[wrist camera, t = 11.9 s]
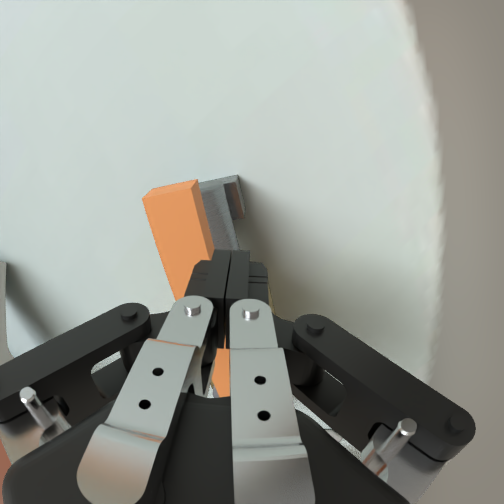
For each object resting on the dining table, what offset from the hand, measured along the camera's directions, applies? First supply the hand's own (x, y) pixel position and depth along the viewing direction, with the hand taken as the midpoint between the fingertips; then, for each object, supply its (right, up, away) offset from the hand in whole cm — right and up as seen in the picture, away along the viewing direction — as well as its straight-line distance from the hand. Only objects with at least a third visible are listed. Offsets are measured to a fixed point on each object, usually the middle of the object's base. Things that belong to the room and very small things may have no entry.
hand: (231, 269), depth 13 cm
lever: (-1, -2, +7) cm, 8 cm away
